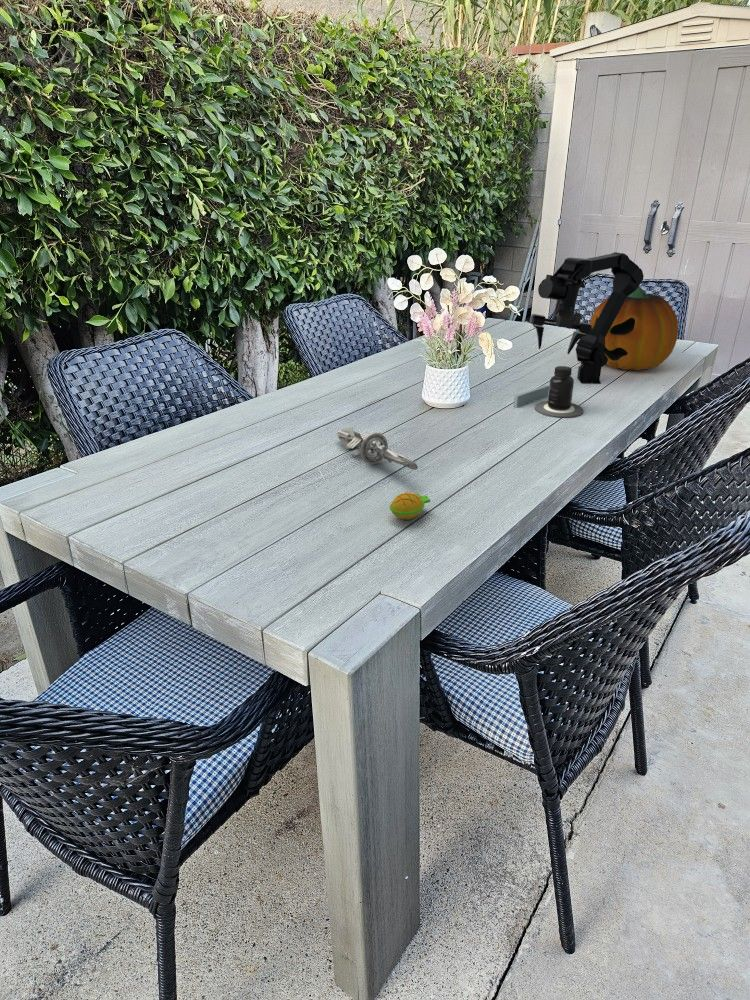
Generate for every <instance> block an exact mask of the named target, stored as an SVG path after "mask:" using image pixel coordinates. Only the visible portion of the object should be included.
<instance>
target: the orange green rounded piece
mask: <svg viewBox="0 0 750 1000" xmlns="http://www.w3.org/2000/svg"><path fill="white" fill-rule="evenodd" d="M428 497H429V496H428V495H420V494H419V493H415V492H408V491H407V492H403V493H400V494H398V495H396V497H395V498H393V499H392V501H391V503H390V505H389V510H390V511H391V513H392V514H393V515H394V516H395V517H396V518H398V519H399V520H405V521H406V520H411V519H414V518H416V517H417V516H419V515H420V513H421V512H422V510H423V509H424V508H425V504H427V503H430V502H431V499H430V498H428Z"/></svg>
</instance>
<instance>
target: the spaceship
mask: <svg viewBox="0 0 750 1000" xmlns="http://www.w3.org/2000/svg"><path fill="white" fill-rule="evenodd" d="M336 435H337V438H338V440H339V441H340V443H341V444H342V446H343V447H344V448H345V449H346V450H350V449H354V448H355V447H356V446H357V447H358V448H356V449H355V450H352V451H351V452H350V454H352V455H354V456H358V455H360V456H361V458H362V460H363V461H364V462H365V463H366V464H367V465H377V464H379V463H380V462H382V461H383V460H386V461H387V462H388V463H389V464H390V463H392V462H393V463H396V464H398V465H402V466H403V467H406V468H408V469H410V470H415V471H416V470H418V465H417V463H416V462H415V461H413V460H412V459H410V458H409V457H407V456H404V455H402V454H400V453H398V452H395V451H393V450H392V449H391V448H389V444H388V443H389V442H388V440H387V437H386V436H385V435H384V434H382V433H380V432H373V433H371V432H369V431H365V432H363V433H361V434H360V433H359V432H358V431H356V430H354V427H347V428H342V429H340V430H338V431H337V432H336ZM378 442H379V444H377V443H378ZM370 454H371V455H370Z"/></svg>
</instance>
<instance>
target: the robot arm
mask: <svg viewBox="0 0 750 1000" xmlns="http://www.w3.org/2000/svg"><path fill="white" fill-rule="evenodd" d="M629 257H630V256H628V255H627V254H626V253H623V252H616V251H614V252H612V253H609V254H607V253H606V254H602V255H598V256H593V257H589V258H582V257H581V258H580V257H567V258H565V259H564V262H562V264H561V265H560V267H559V268H558V269H557V270H556V271H555V273H554V274H553V275H552V274H546V276H545V278H543V280H541V282H540V284H538V288H537V293H538V295H539V297H541V298H542V299H548V300H556V303H555V307H554V310H553V311H554V312H553V315H552V319H551V318H547V317H546V316H545V315H543V314H537V313H532V314H531V315H530V317H529V323H530V324H531V325H532V327H534V328H535V330H536V335H537V347H538V350H541V349H542V342H543V336H544V330H545V327H544V325H548V326H554V327H557V328H565V329H570V330H574V331H573V333H572V335H571V336H572V337H571V339H570V341H569V345H568V349H567V353H566V354H567V355H569V354H570V353H571V352H572V350H573V349H574V347H575V346H576V347H575V352H576V353H575V354H576V360H577V362H579V363H580V365H579V366H578V368H577V379H578V381H579V382H580V384H593V385H594V384H597V385H598V384H599V385H600V384H601V383H602V382H601V380H600V379H601V374H602V367H604V366H606V363H607V361H608V358H607V357H606V355H605V354H604V352H603V351H604V349H605V337H606V335H607V333H608V331H609V329H610V327H611V326H612V324H613V322H614V320H615V318H616V316H617V314H618V313H619V311H620V309H621V307H622V305H623V303H624V302H625V300H626V298H627V296H629V295H630V294H632V293H633V292H634V291H636V290H637V288H638V287H640V285H641V283H642V282H643V280H644V273H643V270H642V269H641V267H640V266H639V265H638V264H636V263H635V262H634V261H632V259H630V258H629ZM610 269H611V273H612V274H613V279H612V292H611V293H610V294H609V296H608V297H609V299H608V301H607V302H606V304H605V306H604V308H603V310H602V312H601V314H600V315H599V317H598V319H597V321H596V323H595V325H594V327H593V328H592V326H591V325H590V324H589V323H590V322H589V323H588V322H583V321H581V320H582V317H583V314H582V313H580V312H575V309H576V308H575V307H576V303H577V299H578V295H579V291H580V288H581V289H585V287H586V285H585V284H584V282H583V279H586V278H588V277H590V275H592V274H593V273H595V272H601V271H605V270H610Z"/></svg>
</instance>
